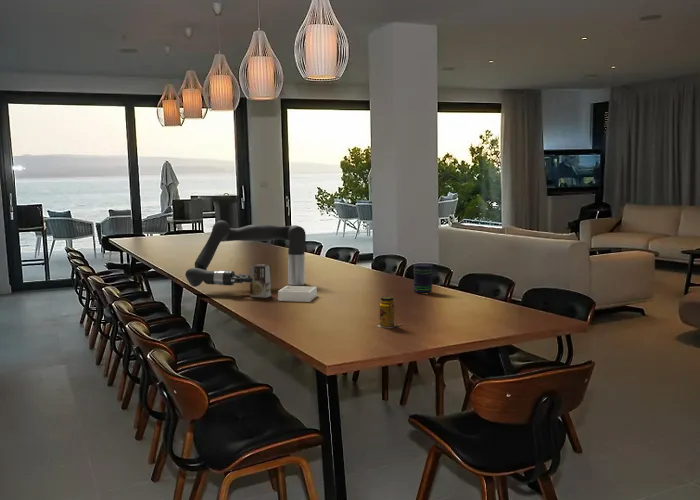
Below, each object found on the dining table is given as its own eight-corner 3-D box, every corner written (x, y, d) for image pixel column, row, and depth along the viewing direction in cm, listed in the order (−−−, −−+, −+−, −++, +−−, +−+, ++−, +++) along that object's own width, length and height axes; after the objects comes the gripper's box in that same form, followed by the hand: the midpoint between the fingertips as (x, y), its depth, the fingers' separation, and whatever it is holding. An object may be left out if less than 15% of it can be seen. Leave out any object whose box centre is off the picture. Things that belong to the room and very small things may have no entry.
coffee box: (271, 295, 337) (271, 264, 335) (265, 298, 331) (265, 266, 329) (255, 294, 340) (255, 263, 338) (249, 296, 334) (249, 265, 332)
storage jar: (434, 292, 351) (434, 264, 349) (428, 295, 342) (429, 266, 340) (416, 290, 355) (417, 263, 353) (410, 293, 346) (410, 265, 344)
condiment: (375, 326, 270) (375, 297, 269) (387, 322, 277) (387, 294, 275) (389, 329, 266) (389, 299, 264) (401, 325, 272) (402, 296, 271)
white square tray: (286, 295, 339) (286, 285, 339) (316, 296, 337) (316, 286, 336) (278, 300, 324) (278, 291, 323) (309, 301, 321) (309, 292, 321)
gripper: (219, 272, 330) (250, 273, 328) (228, 268, 344) (258, 269, 341) (219, 287, 331) (250, 288, 328) (229, 283, 345) (259, 283, 342)
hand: (254, 278), depth 335 cm, fingers open, 8 cm apart
